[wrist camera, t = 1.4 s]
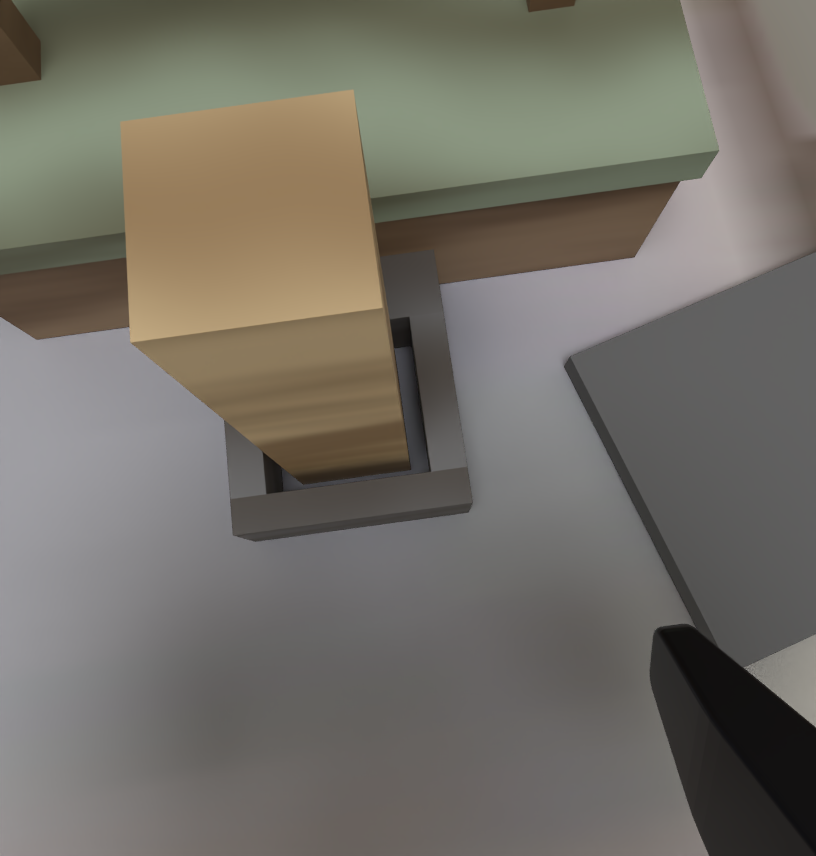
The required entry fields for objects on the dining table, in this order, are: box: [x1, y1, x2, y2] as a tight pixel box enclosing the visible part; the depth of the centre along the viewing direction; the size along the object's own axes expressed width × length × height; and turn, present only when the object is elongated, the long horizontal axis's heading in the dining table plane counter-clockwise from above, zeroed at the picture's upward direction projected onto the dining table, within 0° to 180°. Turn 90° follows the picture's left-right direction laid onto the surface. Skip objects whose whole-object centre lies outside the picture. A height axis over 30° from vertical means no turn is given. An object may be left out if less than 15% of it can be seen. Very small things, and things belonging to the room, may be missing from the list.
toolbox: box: [0, 0, 719, 542], centre depth 18 cm, size 18×21×13 cm
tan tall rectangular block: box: [120, 90, 411, 485], centre depth 16 cm, size 3×3×13 cm
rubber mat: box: [564, 252, 816, 667], centre depth 21 cm, size 10×10×1 cm
